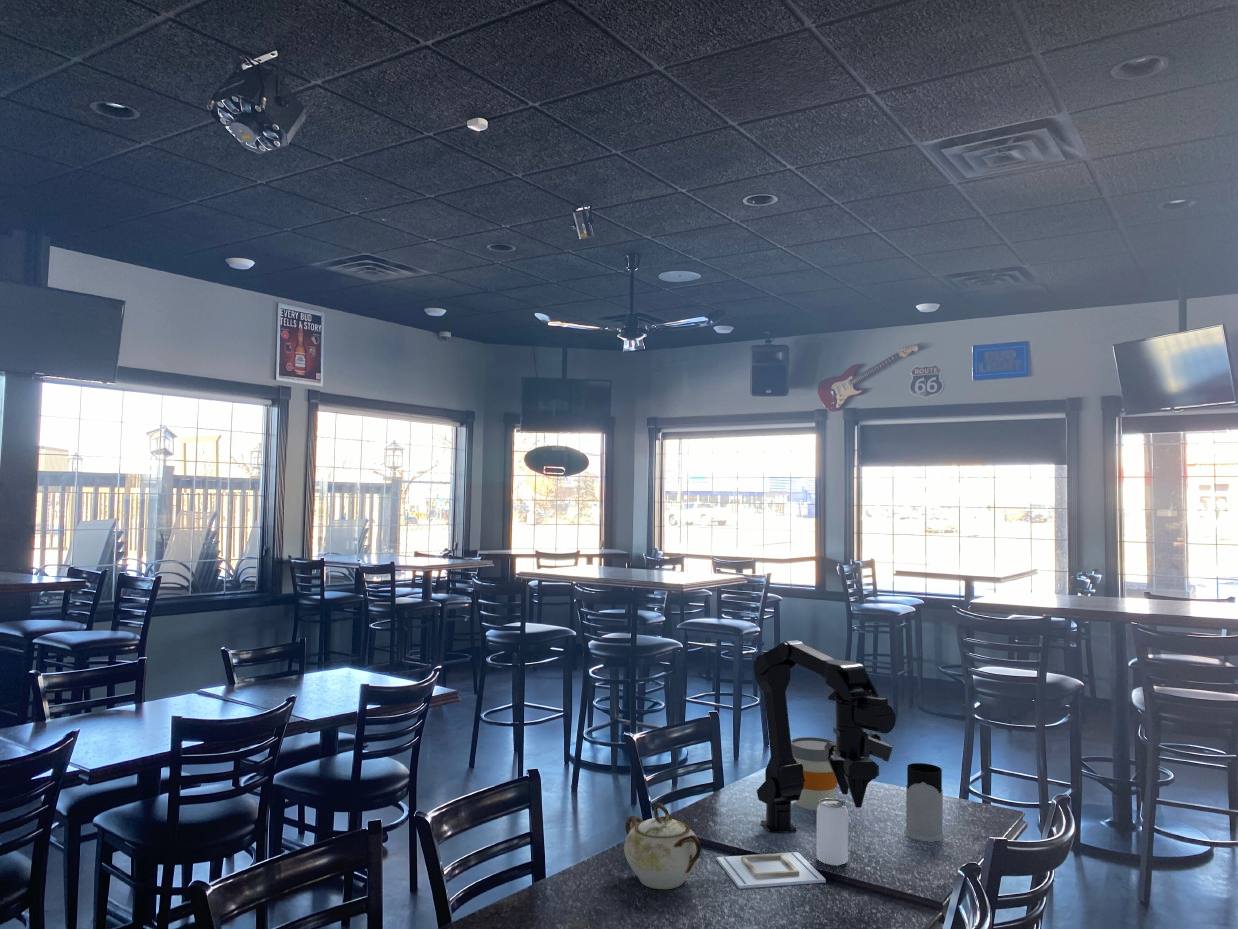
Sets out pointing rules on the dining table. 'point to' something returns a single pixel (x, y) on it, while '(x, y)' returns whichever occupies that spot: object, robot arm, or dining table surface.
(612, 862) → the dining table surface
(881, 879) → the dining table surface
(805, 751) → the reusable coffee cup
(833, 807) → the can
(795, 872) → the seat frame
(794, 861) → the grey flat tray
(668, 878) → the sugar bowl
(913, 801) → the glass holder
